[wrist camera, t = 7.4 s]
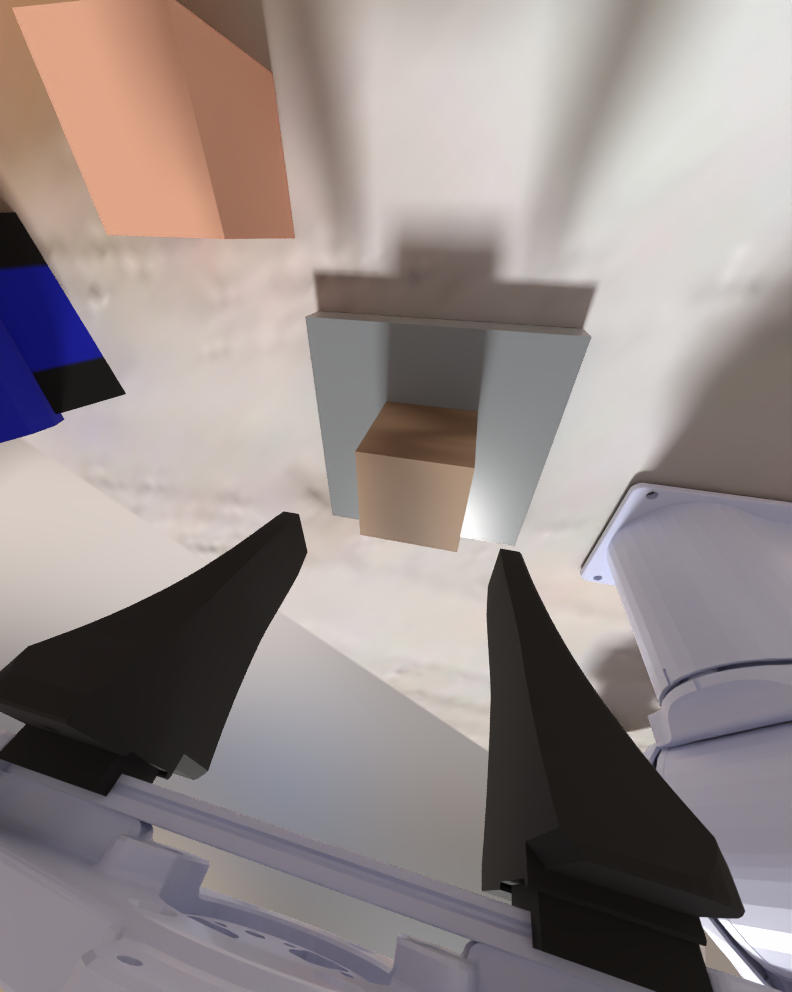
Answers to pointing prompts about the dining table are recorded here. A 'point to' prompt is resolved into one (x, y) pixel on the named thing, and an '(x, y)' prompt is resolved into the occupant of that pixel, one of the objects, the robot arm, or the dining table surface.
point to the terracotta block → (163, 119)
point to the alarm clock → (41, 343)
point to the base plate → (447, 399)
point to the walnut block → (416, 474)
